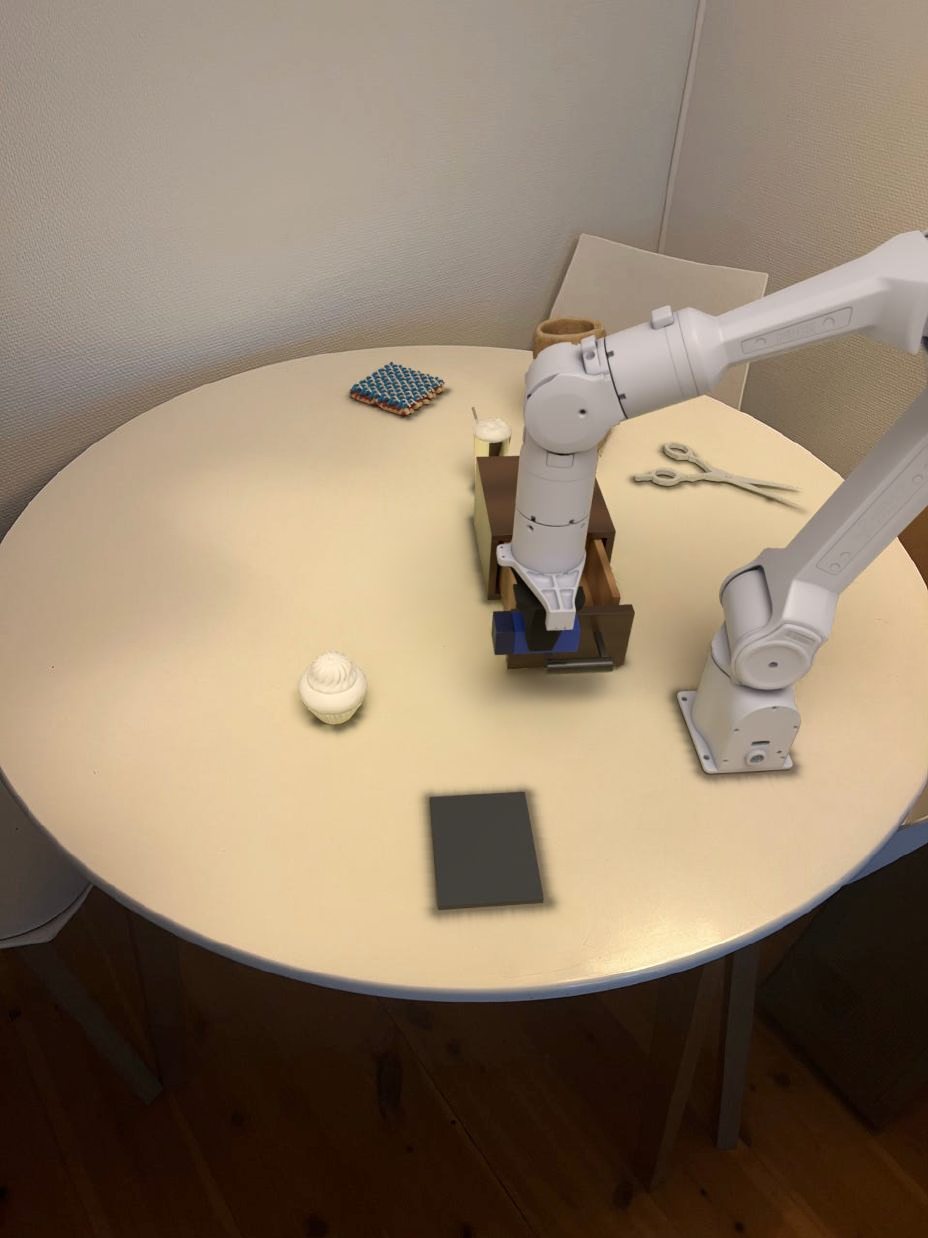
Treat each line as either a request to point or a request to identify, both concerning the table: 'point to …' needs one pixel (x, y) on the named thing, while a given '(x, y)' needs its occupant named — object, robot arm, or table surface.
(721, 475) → the scissors
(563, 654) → the drawer
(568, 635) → the block
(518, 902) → the desk pad
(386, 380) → the woven mat
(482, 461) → the cabinet
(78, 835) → the table surface
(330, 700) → the muffin
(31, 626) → the table surface
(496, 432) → the milkshake
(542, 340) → the stone cup
